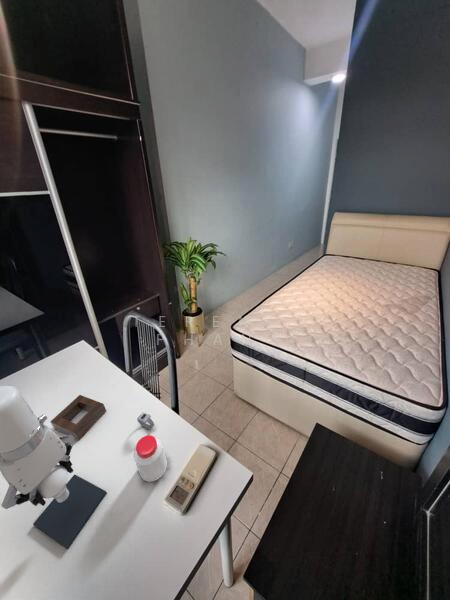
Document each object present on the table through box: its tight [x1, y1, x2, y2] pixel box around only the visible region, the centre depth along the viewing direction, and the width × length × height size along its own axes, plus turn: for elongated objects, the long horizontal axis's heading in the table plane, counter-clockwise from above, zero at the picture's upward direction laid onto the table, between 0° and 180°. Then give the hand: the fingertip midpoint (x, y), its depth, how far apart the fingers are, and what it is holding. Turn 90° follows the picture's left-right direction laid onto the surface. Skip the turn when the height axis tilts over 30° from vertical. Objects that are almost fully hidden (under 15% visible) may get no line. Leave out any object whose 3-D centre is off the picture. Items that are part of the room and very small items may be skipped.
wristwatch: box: [137, 412, 155, 430], centre depth 83 cm, size 6×3×5 cm, turn 65°
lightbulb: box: [36, 464, 69, 503], centre depth 59 cm, size 6×6×11 cm
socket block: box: [50, 394, 107, 441], centre depth 86 cm, size 12×12×4 cm
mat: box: [32, 474, 108, 550], centre depth 64 cm, size 12×12×1 cm
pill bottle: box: [133, 434, 168, 483], centre depth 70 cm, size 8×8×11 cm
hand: (54, 484), depth 58 cm, fingers closed on lightbulb, 6 cm apart
